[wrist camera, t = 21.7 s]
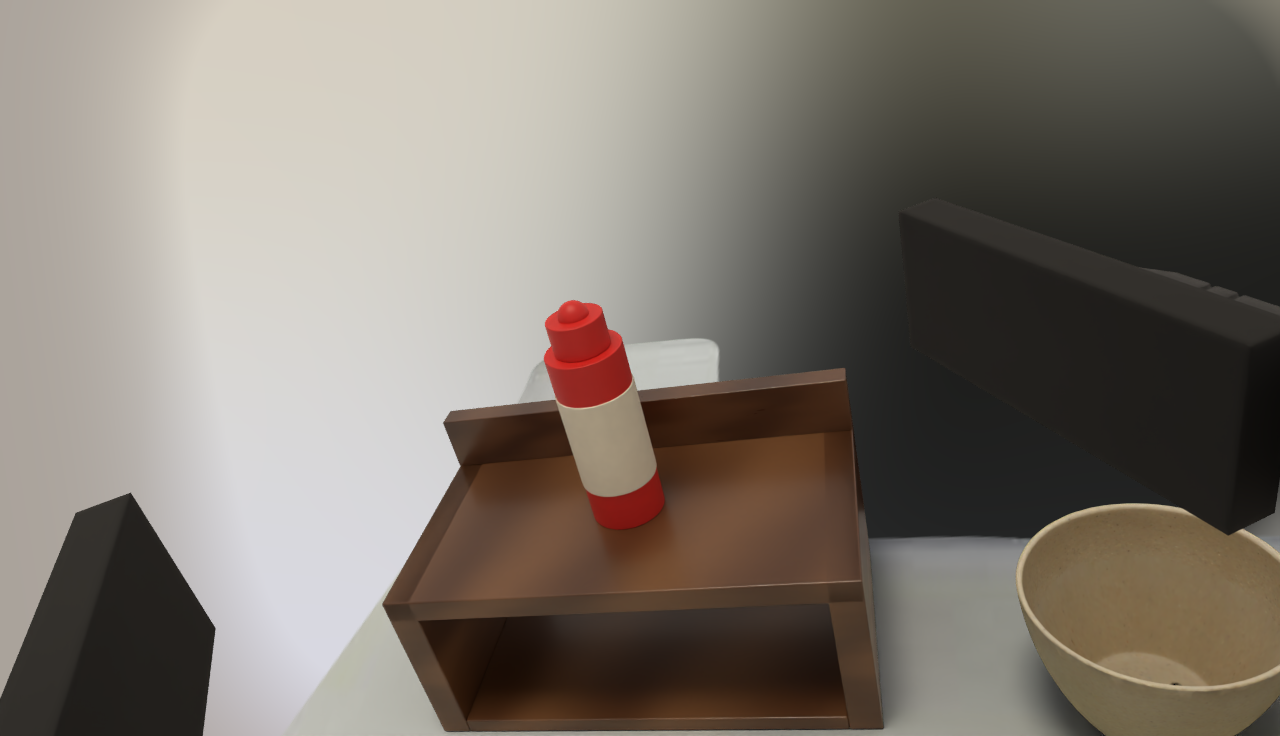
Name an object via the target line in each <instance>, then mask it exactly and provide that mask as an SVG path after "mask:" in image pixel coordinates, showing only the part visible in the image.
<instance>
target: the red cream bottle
mask: <svg viewBox="0 0 1280 736" xmlns="http://www.w3.org/2000/svg"><path fill="white" fill-rule="evenodd" d="M545 327H546V330H547V334H548V336H549V340H550V343H551V347H550V348H549V349H548V350H547V351H546V354H545V356H544V362H545V365H546V368H547V371H548V374H549V377H550V380H551V383H552V387H553V390H554V393H555V399H556V403H557V406H558V409H559V412H560V415H561V418H562V421H563V424H564V428H565V431H566V434H567V437H568V440H569V443H570V446H571V449H572V452H573V455H574V459H575V462H576V465H577V468H578V471H579V474H580V477H581V480H582V483H583V486H584V488H585V489H586V493H587V496H588V499H589V502H590V505H591V508H592V511H593V514H594V517H595V519H596V521H597V522H598V523H599V524H600V525H602V526H604V527H606V528H609V529H615V530H623V529H630V528H634V527H637V526H640V525H643V524H645V523H647V522H648V521H650V520H651V519H653V518H654V517H655V516H656V515H657V514H658V513H659V512H660V511H661V509H662V507H663V505H664V501H665V497H664V493H663V489H662V486H661V482H660V478H659V474H658V471H657V463H656V459H655V456H654V452H653V448H652V444H651V441H650V437H649V433H648V429H647V426H646V422H645V418H644V415H643V411H642V407H641V403H640V400H639V396H638V392H637V389H636V385H635V381H634V377H633V375H632V373H631V370H630V367H629V363H628V359H627V356H626V352H625V348H624V344H623V341H622V337H621V336H620V335H619V334H618V333H617V332H615V331H612V330H608V328H607V325H606V321H605V318H604V314H603V311H602V308H601V307H600V306H599V305H597V304H592V303H581V302H579V301H575V300H571V301H567V302H565V303H564V304H563V305H562V306H561V307H560V308H559V310H558V311H556V312H555V313H553V314H552V315H551V316H549V317H548V318H547V320H546V322H545Z"/></svg>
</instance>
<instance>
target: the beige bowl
mask: <svg viewBox="0 0 1280 736" xmlns="http://www.w3.org/2000/svg"><path fill="white" fill-rule="evenodd" d="M1016 586H1017V592H1018V597H1019V601H1020V605H1021V609H1022V612H1023V615H1024V619H1025V622H1026V625H1027V627H1028V630H1029V633H1030V635H1031V638H1032V640H1033V643H1034V645H1035V647H1036V649H1037V652H1038V654H1039V655H1040V657H1041V659H1042V661H1043V663H1044V665H1045V667H1046V668H1047V670H1048V672H1049V673H1050V675H1051V676H1052V678H1053V680H1054V681H1055V683H1056V684H1057V685H1058V687H1059V688H1060V690H1061V691H1062V692H1063V694H1064V695H1065V696H1066V697H1067V699H1068V700H1069V701H1070V702H1071V703H1072V705H1073V706H1074V707H1075V708H1076V709H1077V710H1078V711H1079V712H1080V713H1081V714H1082V715H1083V716H1084V717H1085V718H1086V719H1087V720H1088V721H1089V722H1090V723H1091V724H1092V725H1093V726H1094V727H1096V728H1097V729H1098V730H1099V731H1100V732H1102V733H1103V734H1104V735H1106V736H1235V735H1236V734H1238V733H1240V732H1241V731H1243V730H1244V729H1245V728H1247V727H1248V726H1249V725H1250V724H1252V723H1253V722H1254V721H1255V720H1257V719H1258V718H1259V717H1260V716H1261V715H1262V714H1263V713H1264V712H1265V711H1266V710H1267V709H1268V708H1269V707H1270V706H1271V705H1272V704H1273V703H1274V701H1275V700H1276V699H1277V698H1278V697H1279V695H1280V553H1279V552H1277V551H1276V550H1275V549H1274V548H1273V547H1271V546H1270V545H1269V544H1267V543H1266V542H1264V541H1263V540H1261V539H1259V538H1258V537H1256V536H1254V535H1253V534H1251V533H1249V532H1247V531H1245V530H1244V529H1241V530H1239V531H1237V532H1235V533H1233V534H1231V535H1229V536H1228V535H1226V534H1224V533H1223V532H1221V531H1219V530H1218V529H1216V528H1214V527H1213V526H1211V525H1209V524H1208V523H1206V522H1204V521H1203V520H1201V519H1199V518H1198V517H1196V516H1194V515H1193V514H1191V513H1189V512H1187V511H1186V510H1184V509H1182V508H1177V507H1171V506H1163V505H1153V504H1114V505H1105V506H1098V507H1093V508H1089V509H1085V510H1082V511H1078V512H1075V513H1072V514H1069V515H1067V516H1064V517H1062V518H1060V519H1059V520H1056V521H1054V522H1053V523H1051V524H1049V525H1047V526H1046V527H1045V528H1043V529H1042V530H1041V531H1039V532H1038V533H1037V534H1036V535H1035V536H1034V537H1033V538H1032V539H1031V540H1030V541H1029V542H1028V544H1027V545H1026V547H1025V548H1024V550H1023V552H1022V554H1021V556H1020V558H1019V561H1018V565H1017V570H1016ZM1172 684H1176V685H1172Z"/></svg>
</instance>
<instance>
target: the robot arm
mask: <svg viewBox="0 0 1280 736" xmlns="http://www.w3.org/2000/svg"><path fill="white" fill-rule="evenodd" d="M899 223H900V234H901V245H902V256H903V268H904V279H905V289H906V301H907V312H908V324H909V335H910V345H911V347H912V348H914V349H916V350H917V351H919V352H921V353H922V354H924V355H926V356H927V357H929V358H931V359H932V360H934V361H936V362H938V363H939V364H941V365H942V366H944V367H946V368H947V369H949V370H951V371H953V372H954V373H956V374H958V375H959V376H961V377H963V378H964V379H966V380H968V381H969V382H971V383H973V384H975V385H976V386H978V387H979V388H981V389H983V390H984V391H986V392H988V393H989V394H991V395H993V396H994V397H996V398H998V399H1000V400H1001V401H1003V402H1005V403H1006V404H1008V405H1010V406H1011V407H1013V408H1015V409H1016V410H1018V411H1020V412H1022V413H1023V414H1025V415H1027V416H1028V417H1030V418H1031V419H1033V420H1035V421H1036V422H1038V423H1040V424H1042V425H1043V426H1045V427H1046V428H1048V429H1050V430H1052V431H1053V432H1055V433H1057V434H1058V435H1060V436H1062V437H1063V438H1065V439H1067V440H1068V441H1070V442H1072V443H1073V444H1075V445H1077V446H1078V447H1080V448H1082V449H1084V450H1085V451H1087V452H1088V453H1090V454H1092V455H1093V456H1095V457H1097V458H1099V459H1100V460H1102V461H1104V462H1105V463H1107V464H1109V465H1110V466H1112V467H1114V468H1115V469H1117V470H1119V471H1121V472H1122V473H1124V474H1125V475H1127V476H1129V477H1130V478H1132V479H1134V480H1135V481H1137V482H1139V483H1140V484H1142V485H1144V486H1146V487H1147V488H1149V489H1151V490H1152V491H1154V492H1156V493H1158V494H1159V495H1161V496H1162V497H1164V498H1166V499H1167V500H1169V501H1171V502H1172V503H1174V504H1176V505H1177V506H1179V507H1181V508H1182V509H1184V510H1186V511H1187V512H1189V513H1191V514H1193V515H1194V516H1196V517H1198V518H1199V519H1201V520H1203V521H1204V522H1206V523H1208V524H1209V525H1211V526H1213V527H1214V528H1216V529H1218V530H1219V531H1221V532H1223V533H1224V534H1226V535H1228V536H1229V535H1231V534H1233V533H1235V532H1237V531H1239V530H1241V529H1243V528H1245V527H1247V526H1249V525H1251V524H1253V523H1255V522H1257V521H1259V520H1261V519H1263V518H1265V517H1267V516H1269V515H1271V514H1273V513H1275V507H1276V500H1277V493H1278V487H1279V480H1280V307H1278V306H1275V305H1272V304H1269V303H1266V302H1263V301H1260V300H1257V299H1254V298H1251V297H1248V296H1245V295H1244V296H1242V297H1239V296H1238V293H1236V292H1233V291H1230V290H1227V289H1224V288H1221V287H1218V286H1216V287H1213V288H1212V287H1211V286H1210V284H1209V283H1206V282H1203V281H1200V280H1197V279H1194V278H1191V277H1188V276H1185V275H1182V274H1179V273H1176V272H1175V273H1174V272H1168V271H1160V270H1153V269H1145V268H1139V267H1136V266H1133V265H1130V264H1127V263H1124V262H1121V261H1119V260H1116V259H1113V258H1110V257H1107V256H1104V255H1101V254H1098V253H1095V252H1092V251H1089V250H1086V249H1083V248H1081V247H1078V246H1075V245H1072V244H1069V243H1066V242H1063V241H1060V240H1057V239H1054V238H1051V237H1048V236H1045V235H1042V234H1040V233H1037V232H1034V231H1031V230H1028V229H1025V228H1022V227H1019V226H1016V225H1013V224H1010V223H1007V222H1004V221H1001V220H998V219H996V218H993V217H990V216H987V215H984V214H981V213H978V212H975V211H972V210H969V209H966V208H963V207H960V206H957V205H954V204H951V203H949V202H946V201H943V200H940V199H937V198H933V199H931V200H928V201H925V202H922V203H919V204H917V205H914V206H911V207H909V208H906V209H903V210H900V211H899ZM214 637H215V627H214V625H213V623H212V622H211V620H210V619H209V617H208V616H207V614H206V612H205V611H204V609H203V607H202V606H201V604H200V603H199V601H198V599H197V598H196V596H195V595H194V593H193V591H192V590H191V588H190V587H189V585H188V583H187V582H186V580H185V579H184V577H183V576H182V574H181V572H180V571H179V569H178V568H177V566H176V564H175V563H174V561H173V559H172V558H171V556H170V555H169V553H168V552H167V550H166V548H165V547H164V545H163V544H162V542H161V540H160V539H159V537H158V535H157V534H156V532H155V531H154V529H153V527H152V526H151V524H150V523H149V521H148V520H147V518H146V516H145V515H144V513H143V511H142V510H141V508H140V507H139V505H138V503H137V502H136V500H135V499H134V497H133V496H132V494H131V493H129V494H126V495H123V496H120V497H118V498H115V499H112V500H110V501H107V502H104V503H101V504H99V505H96V506H93V507H91V508H88V509H85V510H82V511H80V512H77V513H76V514H75V516H74V519H73V521H72V524H71V526H70V529H69V531H68V534H67V536H66V538H65V541H64V543H63V546H62V548H61V551H60V553H59V556H58V558H57V560H56V563H55V565H54V568H53V570H52V573H51V575H50V578H49V580H48V583H47V585H46V588H45V590H44V592H43V595H42V597H41V600H40V602H39V605H38V607H37V610H36V612H35V615H34V617H33V620H32V622H31V624H30V627H29V629H28V632H27V635H26V637H25V639H24V642H23V644H22V647H21V649H20V652H19V654H18V657H17V659H16V661H15V664H14V666H13V669H12V671H11V674H10V676H9V679H8V681H7V684H6V686H5V689H4V691H3V694H2V696H1V698H0V736H203V728H204V720H205V712H206V703H207V695H208V687H209V678H210V670H211V662H212V653H213V645H214Z"/></svg>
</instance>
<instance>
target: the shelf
mask: <svg viewBox="0 0 1280 736" xmlns="http://www.w3.org/2000/svg"><path fill="white" fill-rule="evenodd" d="M637 392H638V396H639V400H640V403H641V407H642V411H643V415H644V418H645V422H646V426H647V429H648V433H649V437H650V441H651V444H652V448H653V452H654V456H655V459H656V463H657V471H658V474H659V478H660V482H661V486H662V489H663V493H664V497H665V501H664V505H663V507H662V509H661V511H660V512H659V513H658V514H657V515H656V516H655V517H654V518H653V519H651V520H650V521H648V522H647V523H645V524H643V525H640V526H637V527H634V528H630V529H623V530H615V529H609V528H606V527H604V526H602V525H600V524H599V523H598V522H597V521H596V519H595V517H594V514H593V511H592V508H591V505H590V502H589V499H588V496H587V493H586V489H585V488H584V486H583V483H582V480H581V477H580V474H579V471H578V468H577V465H576V462H575V459H574V455H573V452H572V449H571V446H570V443H569V440H568V437H567V434H566V431H565V428H564V424H563V421H562V418H561V415H560V412H559V409H558V406H557V403H556V400H549V401H540V402H531V403H522V404H513V405H503V406H494V407H485V408H476V409H467V410H458V411H451V412H450V413H449V415H448V416H447V418H446V419H445V421H444V422H443V424H444V426H445V428H446V431H447V434H448V436H449V439H450V441H451V444H452V446H453V449H454V451H455V454H456V456H457V459H458V461H459V463H460V466H461V467H460V468H459V470H458V472H457V474H456V476H455V477H454V479H453V481H452V482H451V484H450V486H449V488H448V489H447V491H446V493H445V495H444V497H443V498H442V500H441V502H440V503H439V505H438V507H437V509H436V510H435V512H434V514H433V516H432V517H431V519H430V521H429V523H428V524H427V526H426V528H425V530H424V532H423V533H422V535H421V537H420V539H419V540H418V542H417V544H416V546H415V547H414V549H413V551H412V553H411V554H410V556H409V558H408V560H407V561H406V563H405V565H404V567H403V568H402V570H401V572H400V574H399V575H398V577H397V579H396V581H395V582H394V584H393V586H392V588H391V589H390V591H389V593H388V595H387V596H386V598H385V600H384V602H383V604H382V605H383V607H384V609H385V611H386V613H387V615H388V617H389V619H390V621H391V623H392V625H393V627H394V629H395V631H396V633H397V636H398V638H399V640H400V642H401V644H402V646H403V648H404V650H405V652H406V654H407V656H408V658H409V660H410V662H411V664H412V666H413V668H414V670H415V672H416V674H417V676H418V678H419V680H420V682H421V684H422V686H423V688H424V690H425V692H426V694H427V696H428V698H429V700H430V702H431V704H432V706H433V708H434V710H435V712H436V714H437V716H438V718H439V720H440V722H441V724H442V726H443V728H444V730H445V731H470V730H471V731H532V730H704V729H849V727H850V728H851V729H872V728H883V727H884V726H883V713H882V701H881V688H880V675H879V662H878V649H877V637H876V624H875V611H874V598H873V585H872V573H871V560H870V548H869V540H868V533H867V526H866V518H865V512H864V503H863V496H862V489H861V481H860V474H859V467H858V459H857V452H856V445H855V437H854V430H853V423H852V415H851V408H850V400H849V393H848V385H847V379H846V371H845V368H841V369H832V370H822V371H813V372H804V373H795V374H787V375H777V376H768V377H759V378H749V379H740V380H731V381H722V382H713V383H704V384H695V385H686V386H677V387H667V388H658V389H649V390H640V391H637Z"/></svg>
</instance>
